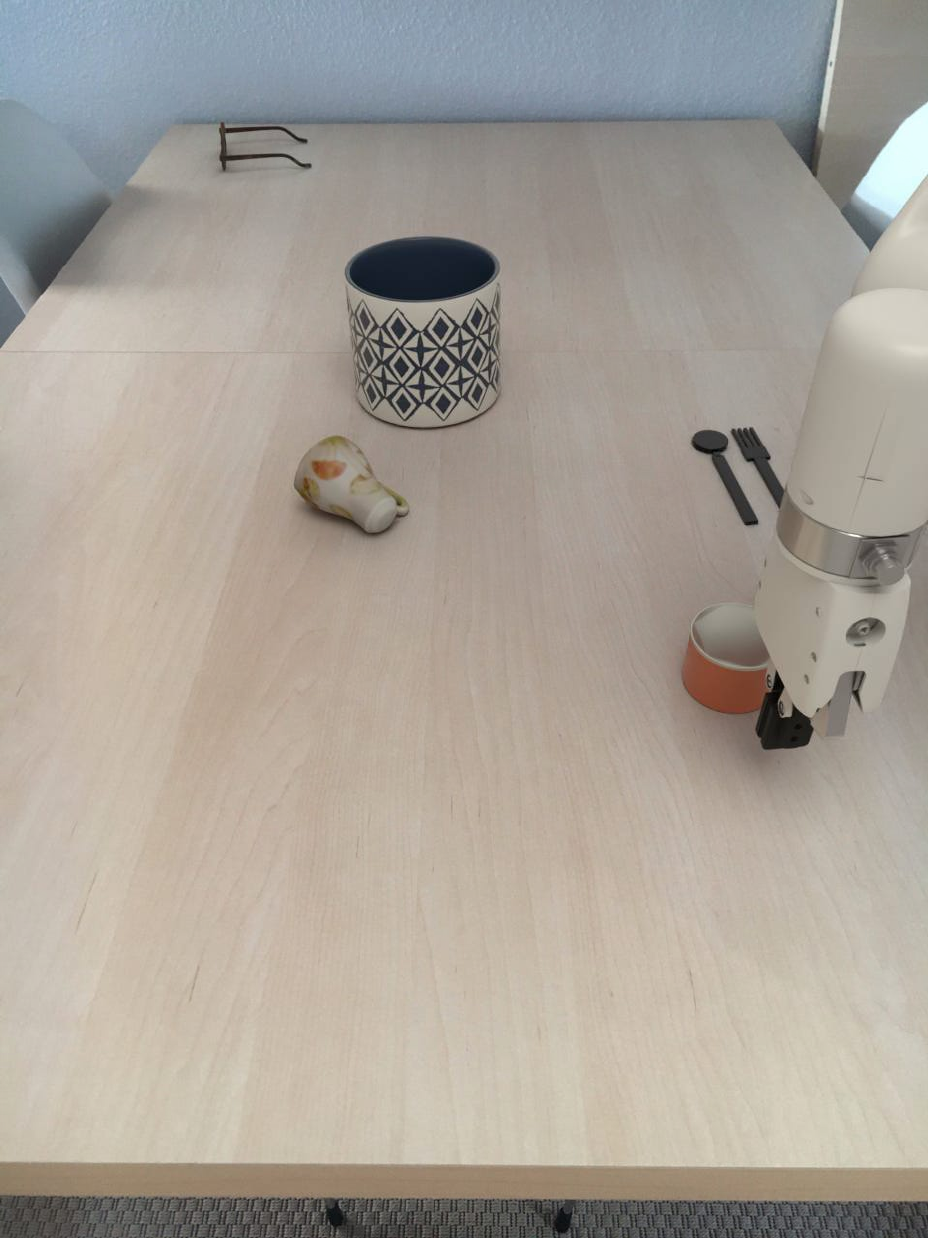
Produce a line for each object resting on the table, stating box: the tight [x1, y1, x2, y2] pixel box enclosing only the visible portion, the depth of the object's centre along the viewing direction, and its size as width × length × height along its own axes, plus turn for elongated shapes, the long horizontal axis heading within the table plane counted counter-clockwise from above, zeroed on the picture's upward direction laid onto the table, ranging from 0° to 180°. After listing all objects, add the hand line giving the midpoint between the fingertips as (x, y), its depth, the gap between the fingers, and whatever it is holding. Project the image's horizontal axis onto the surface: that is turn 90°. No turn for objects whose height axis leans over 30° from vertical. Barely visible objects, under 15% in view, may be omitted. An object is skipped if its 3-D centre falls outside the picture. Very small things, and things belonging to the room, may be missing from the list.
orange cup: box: [682, 602, 772, 715], centre depth 76 cm, size 7×7×5 cm
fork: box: [730, 426, 785, 509], centre depth 97 cm, size 16×2×1 cm, turn 6°
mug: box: [293, 435, 410, 534], centre depth 92 cm, size 8×10×10 cm
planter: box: [343, 235, 502, 429], centre depth 105 cm, size 16×16×14 cm
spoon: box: [691, 429, 759, 526], centre depth 97 cm, size 15×4×1 cm, turn 6°
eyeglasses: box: [218, 121, 312, 171], centre depth 166 cm, size 15×15×5 cm
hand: (780, 738), depth 67 cm, fingers closed
